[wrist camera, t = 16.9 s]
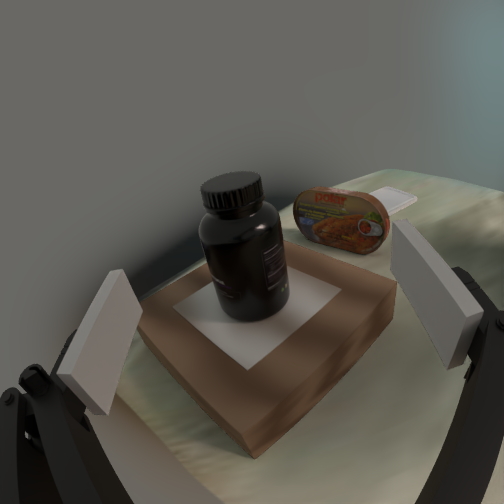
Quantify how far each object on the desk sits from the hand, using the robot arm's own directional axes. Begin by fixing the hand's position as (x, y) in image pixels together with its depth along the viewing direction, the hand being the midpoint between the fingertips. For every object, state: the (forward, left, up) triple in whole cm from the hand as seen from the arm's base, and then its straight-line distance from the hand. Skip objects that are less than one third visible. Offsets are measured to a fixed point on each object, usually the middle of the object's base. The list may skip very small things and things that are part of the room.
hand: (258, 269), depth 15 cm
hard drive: (-42, -15, -17) cm, 47 cm away
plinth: (-6, -10, -16) cm, 20 cm away
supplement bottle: (-6, -10, -11) cm, 16 cm away
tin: (-26, -14, -16) cm, 34 cm away
